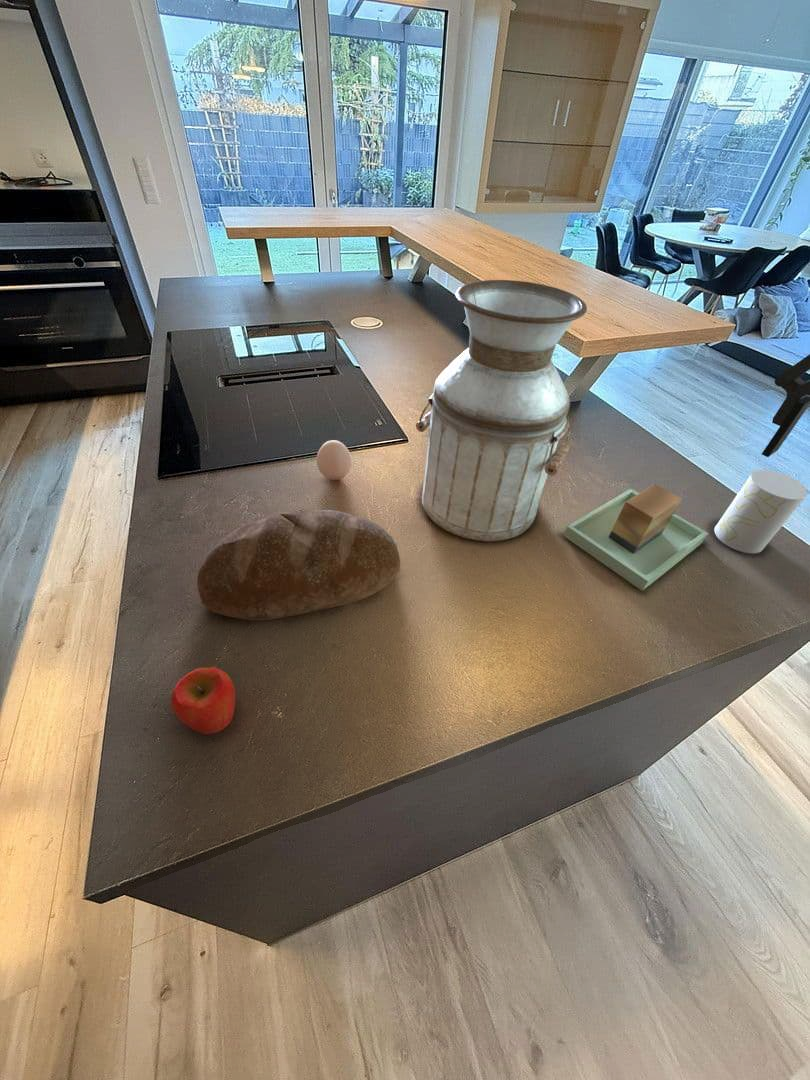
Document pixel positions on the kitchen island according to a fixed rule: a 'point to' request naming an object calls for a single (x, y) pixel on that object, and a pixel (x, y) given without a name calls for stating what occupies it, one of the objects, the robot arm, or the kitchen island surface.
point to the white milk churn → (499, 411)
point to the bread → (297, 565)
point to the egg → (334, 460)
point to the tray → (644, 562)
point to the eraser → (644, 517)
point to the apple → (205, 700)
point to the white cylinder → (759, 510)
